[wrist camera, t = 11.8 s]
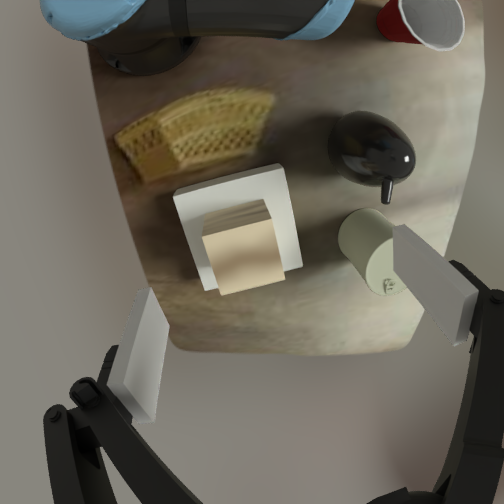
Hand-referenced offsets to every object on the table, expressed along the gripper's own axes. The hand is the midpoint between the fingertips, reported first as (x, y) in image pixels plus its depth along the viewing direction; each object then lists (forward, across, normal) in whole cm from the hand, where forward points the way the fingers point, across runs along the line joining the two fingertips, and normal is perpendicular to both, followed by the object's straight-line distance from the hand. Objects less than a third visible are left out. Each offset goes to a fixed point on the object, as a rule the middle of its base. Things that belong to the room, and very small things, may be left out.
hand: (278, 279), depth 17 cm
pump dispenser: (+32, +16, -1) cm, 36 cm away
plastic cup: (+32, +27, +17) cm, 46 cm away
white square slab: (+31, -3, -9) cm, 32 cm away
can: (+31, +16, -16) cm, 39 cm away
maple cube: (+27, -3, -9) cm, 29 cm away
